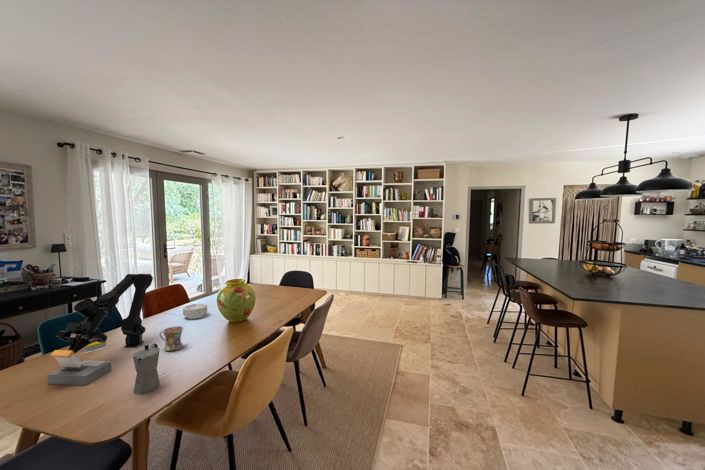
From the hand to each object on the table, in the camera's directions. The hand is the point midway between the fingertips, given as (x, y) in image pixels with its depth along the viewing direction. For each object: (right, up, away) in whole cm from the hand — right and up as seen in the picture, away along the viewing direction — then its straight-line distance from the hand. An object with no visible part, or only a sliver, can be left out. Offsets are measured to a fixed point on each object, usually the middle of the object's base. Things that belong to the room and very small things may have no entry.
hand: (68, 356), depth 119 cm
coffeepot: (+35, -12, -2) cm, 37 cm away
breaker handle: (0, -5, +2) cm, 6 cm away
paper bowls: (+8, -7, +81) cm, 82 cm away
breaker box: (+2, -11, +4) cm, 11 cm away
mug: (+23, -10, +32) cm, 40 cm away
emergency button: (-20, -9, +32) cm, 39 cm away
